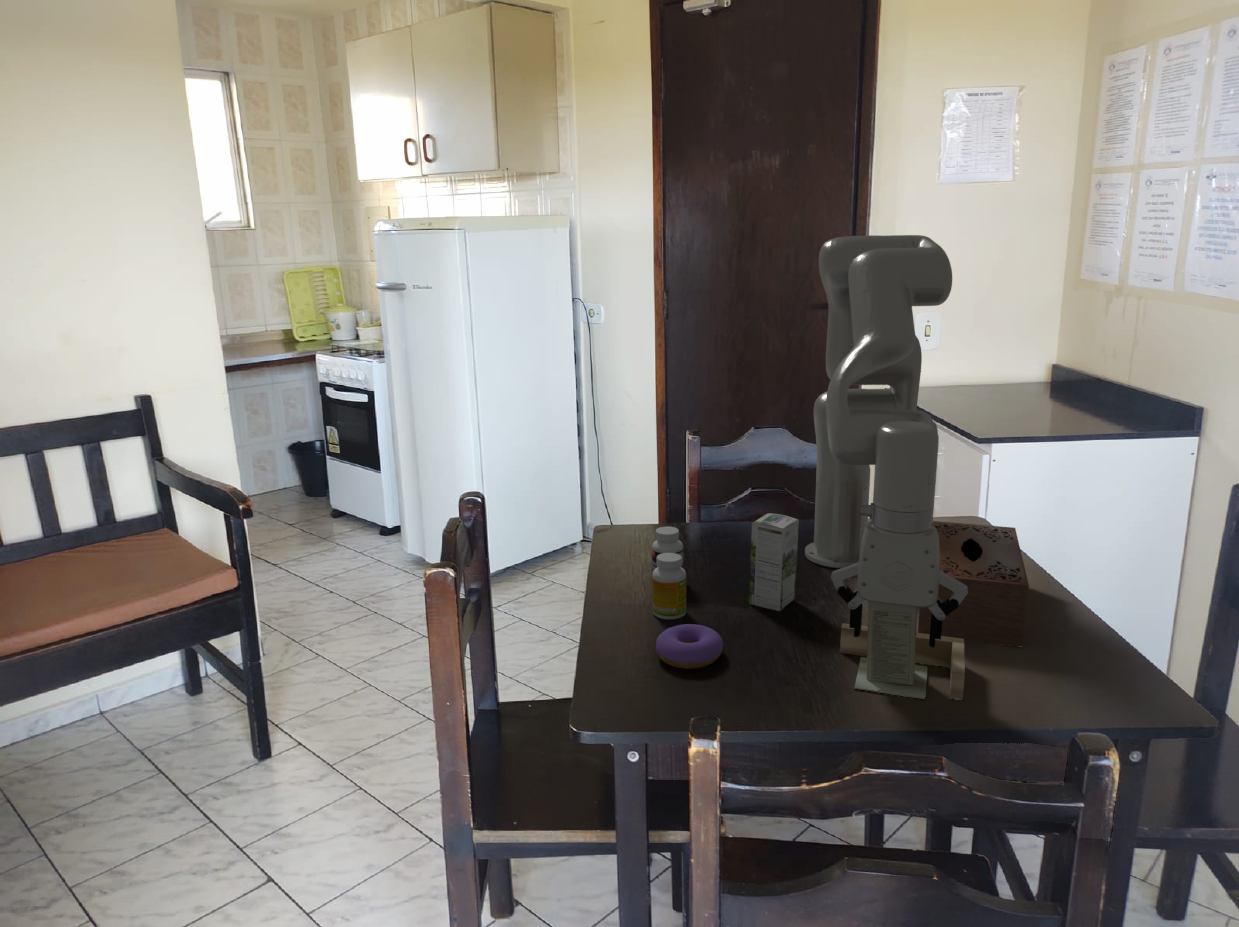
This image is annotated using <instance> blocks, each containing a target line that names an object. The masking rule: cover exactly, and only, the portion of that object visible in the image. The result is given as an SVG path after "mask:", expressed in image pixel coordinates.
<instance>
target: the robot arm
mask: <svg viewBox="0 0 1239 927" xmlns="http://www.w3.org/2000/svg"><path fill="white" fill-rule="evenodd" d="M818 271H819V276H820V279H821V283H822V286H823V289H824V292H825V295H826V299H827V305H828V317H827V332H826V333H827V334H826V345H825V346H826V349H825V371H826V372H825V373H826V375H827V377H828V378H829V380H830V381H829V383H828V388H827V391H825V392H823V393H821V394H820V395H818V397H817V398H815V399H816V400H815V401H814V405H813V423H814V431H815V442H816V443H815V444H816V474H815V475H816V476H815V479H816V481H815V504H814V506H815V507H814V508H815V509H814V530H813V531H814V532H813V542H809V544H807V545H806V546H805V549H804V556H805V557H806V559H807V560H808V561H810V562H812V563H813V564H817V565H819V566H823V567H827V568H832V569H833V568H834V569H835V570H833V571H832V572H831V575H830V580H831V582H832V584H833V586H834V587H835V589H836V591H837V595H838V596H839V597H840V598H841V599H842V600H843V601H844V602H845V603H846V604H847V606H848V609H849V624H850V626H849V627H850V628H854V637H858V636H860V632H861V626H862V622H863V603H864V602H865V601H871V602H878V603H886V604H894V605H903V606H911V607H917V608H919V607H922V608H926V607H928V608H929V610H930V611H931V624H930V637H929V646H931V647H934V648H935V639H940V640H941V632H942V620H943V619H945V616H947V615H948V614H950V613H951V612H953V611H954V610H955V609H957V608H958V606H959V604H960V603H961V602H962V601H963V599H964V598H965V597H966V595H967V594H968V587H967V586H966V585H965V584H963V583H961V582H959V581H958V580H956V579H954V578H953V577H951V576H949V575H947V574H946V573H944V572H942V571H941V570H940V546H939V537H938V532H937V529H936V528H935V527H934V526H932V523H933V521H934V520H933V519H934V507H935V495H936V494H935V493H936V485H937V484H936V482H937V471H938V470H937V468H938V456H939V442H940V441H939V439H940V438H939V437H940V436H939V434H938V433H939V431H938V426H937V424H936V422H934V420H933V418H932V417H931V415H930V414H929V413H927V412H926V411H923V410H920V409H919V410H918V409H917V408H918V398H919V390H920V385H921V384H920V383H921V374H922V373H921V372H922V362H923V359H922V358H923V357H922V346H921V343H920V340H919V338H918V336H917V335H916V330H915V321H914V313H913V307H934V306H935V307H936V306H940V305H943V304H944V303H945V302H946V301H947V300H948V298H949V296H950V294H951V292H952V288H953V270H952V264H951V262H950V259H949V257H948V254H947V253H946V251H945V249H944V248H942V246H941V245H940V244H938V243H937V242H935V241H934V240H933V239H931V237H928V236H927V235H926V236H925V235H920V234H918V235H917V234H900V235H898V234H895V235H874V234H873V235H871V234H870V235H850V236H849V235H848V236H839V237H834V238H832V239H831V238H830V239H829V240H827V241H825V242H824V243H823V245H822V246H821V247H820V251H819V254H818ZM851 386H889V388H850V387H851ZM871 466H874V477H873V494H872V496H873V497H872V502H870V485H871ZM869 520H870V521H869ZM854 576H857V583H856V590H854V591H853V590H852V589H851V588H850V587H849V586H848V585H847V584H846V581H845V580H846V579H849V578H853V577H854ZM939 583H940V584H941V585H943V586H945V587H946V588H948V589H950V590H952V591H953V592H954V593H953V595H952V596H951V597H949V598H948V599H947V600H945V601H944V602H941V600H940V599H939V598H938V592H939Z"/></svg>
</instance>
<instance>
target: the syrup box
mask: <svg viewBox="0 0 1239 927" xmlns="http://www.w3.org/2000/svg"><path fill="white" fill-rule="evenodd" d="M799 521H800V520H799V519H798V518H794V517H791V516H788V515H784V514H779V513H772V512H770V513H766V514H764V515H763V516H762V517H760V518H758V519H757V520H755V521H753V522H751V537H750V539H751V540H750V544H751V545H750V567H749V568H750V570H749V595H748V596H749V598H748V602H749V603H748V604H749V605H752V606H756V607H760V608H765V609H766V610H767V609H768V610H771V611H772V610H773V611H777V612H781V611H783V610H784V609H785V608H786V607H788V606H789V605H790V604H791V603H793V601H795V600H796V582H797V564H798V563H797V562H798V545H799V544H798V543H799V542H798V541H799V523H800V522H799Z"/></svg>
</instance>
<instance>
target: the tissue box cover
mask: <svg viewBox="0 0 1239 927" xmlns="http://www.w3.org/2000/svg"><path fill="white" fill-rule="evenodd" d="M932 526H934V527H935V528H936V529H937V532H938V537H939V546H940V570H941V571H942V572H944V573H946V574H947V575H949V576H951V577H953V578H954V579H956V580H958V581H959V582H961V583H963V584H965V585H966V586H967V587H968V594H967V595H966V597H965V598H964V599H963V601H962V602H961V603H960V604H959V606H958V608H957V609H955V610H954V611H953V612H951V613H950V614H948V615H947V616H945V619H943V620H942V632H941V636H946V637H954V638H961V639H964V642H965V641H967V642H975V643H981V642H982V643H983V644H989V643H991V644H990V645H997V644H1002V645H1001V646H1005V645H1007V647H1009V646H1008V645H1011V646H1010V647H1013V646H1022V647H1023V645H1024V644H1023V643H1024V637H1025V635H1024V633H1025V624H1026V618H1027V617H1026V616H1027V606H1028V598H1029V588H1030V584H1029V580H1028V576H1027V572H1026V568H1025V564H1024V559H1023V556H1022V551H1021V547H1020V543H1019V539H1018V538H1019V537H1018V534H1017V530H1016V527H1010V526H1001V525H1000V526H999V525H998V526H997V525H989V524H988V525H985V524H975V523H974V524H973V523H965V522H964V523H962V522H953V521H952V522H950V521H938V520H937V521H936V520H933V523H932ZM953 593H954V592H953V591H952V590H950V589H948V588H946V587H945V586H943V585H941V584H940V583H939V592H938V598H939V599H940V600H941V602H944V601H945V600H947V599H948V598H949V597H951V596H952V595H953ZM917 622H918V623H917V633H923V634H930V624H931V611H930V610H929V608H928V607H926V608H922V607H918V621H917ZM982 643H981V644H982ZM1003 644H1004V645H1003Z"/></svg>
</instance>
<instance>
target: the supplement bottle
mask: <svg viewBox="0 0 1239 927" xmlns="http://www.w3.org/2000/svg"><path fill="white" fill-rule="evenodd" d="M656 564H657V568H656V569H655V570H654V571H653V577H651V578H652V580H653V581H652V613H653V615H654V616H656V618H659V619H662V620H670V621H671V620H677V619H678V620H679V619H681V618H682V617H683V618H684V616H685V615H686V613H687V572H686V570H685V568H684V567H683V568H682V567H681V566H682V557H681V556H680V555H679V554H676V553H662V554H659V555H658V556H657V562H656Z"/></svg>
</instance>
